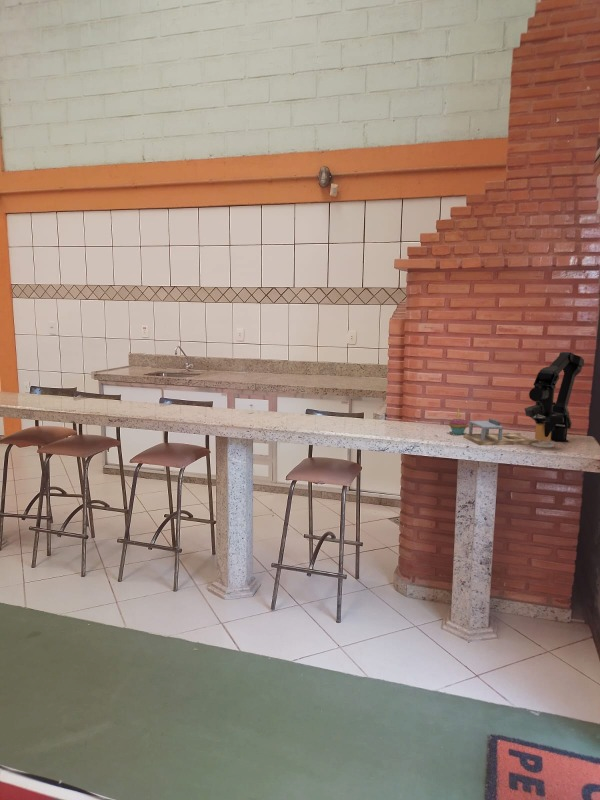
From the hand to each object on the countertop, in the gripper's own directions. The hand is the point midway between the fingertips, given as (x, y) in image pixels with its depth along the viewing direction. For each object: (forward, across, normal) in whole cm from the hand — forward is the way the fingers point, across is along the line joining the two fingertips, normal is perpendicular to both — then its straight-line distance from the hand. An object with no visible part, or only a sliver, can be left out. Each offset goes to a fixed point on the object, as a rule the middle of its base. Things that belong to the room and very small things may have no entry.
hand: (543, 435), depth 245 cm
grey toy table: (+2, -9, -22) cm, 24 cm away
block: (+2, 0, 0) cm, 2 cm away
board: (+4, -9, -15) cm, 18 cm away
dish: (+4, 0, 0) cm, 4 cm away
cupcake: (+4, -25, -27) cm, 37 cm away
